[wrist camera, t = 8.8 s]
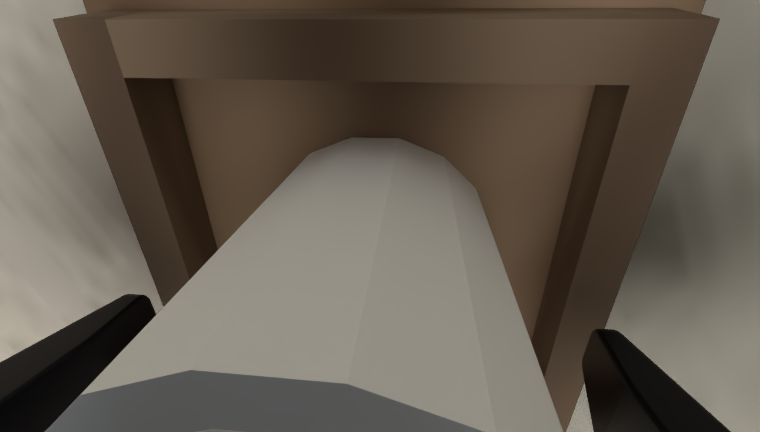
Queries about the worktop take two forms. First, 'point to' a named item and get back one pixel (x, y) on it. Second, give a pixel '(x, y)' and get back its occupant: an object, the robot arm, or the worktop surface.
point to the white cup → (337, 316)
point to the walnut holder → (402, 124)
